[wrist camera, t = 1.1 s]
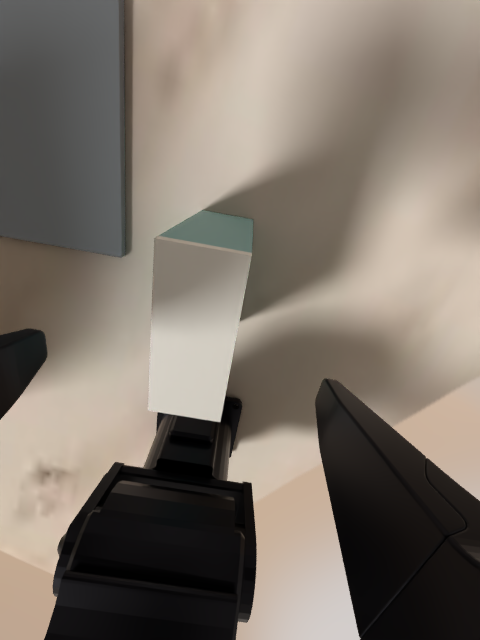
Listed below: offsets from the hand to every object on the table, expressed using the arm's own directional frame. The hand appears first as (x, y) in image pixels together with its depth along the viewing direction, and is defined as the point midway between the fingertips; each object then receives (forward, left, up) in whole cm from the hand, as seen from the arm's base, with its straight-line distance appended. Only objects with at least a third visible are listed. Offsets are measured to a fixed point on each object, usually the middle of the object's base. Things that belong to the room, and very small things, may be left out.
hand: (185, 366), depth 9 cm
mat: (+6, +13, -10) cm, 18 cm away
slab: (0, 0, -10) cm, 10 cm away
